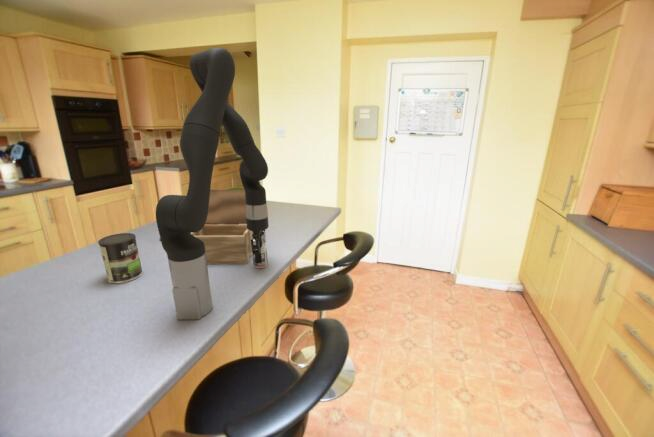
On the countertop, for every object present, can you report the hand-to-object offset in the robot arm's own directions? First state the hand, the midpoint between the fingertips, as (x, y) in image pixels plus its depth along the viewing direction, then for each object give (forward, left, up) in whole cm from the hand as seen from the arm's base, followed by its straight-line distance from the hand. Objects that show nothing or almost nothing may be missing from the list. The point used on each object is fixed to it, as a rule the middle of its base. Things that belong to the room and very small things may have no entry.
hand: (260, 259), depth 112 cm
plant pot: (+81, +31, -3) cm, 87 cm away
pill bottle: (0, 0, -3) cm, 3 cm away
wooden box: (+8, +16, -2) cm, 18 cm away
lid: (+16, +16, +16) cm, 27 cm away
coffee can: (-8, +45, -3) cm, 46 cm away
